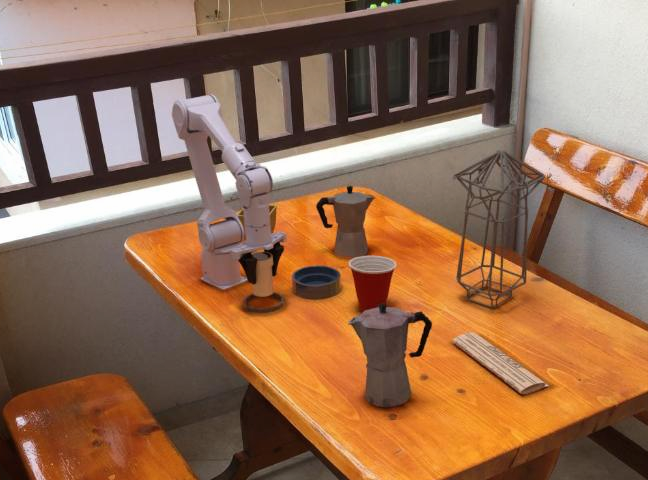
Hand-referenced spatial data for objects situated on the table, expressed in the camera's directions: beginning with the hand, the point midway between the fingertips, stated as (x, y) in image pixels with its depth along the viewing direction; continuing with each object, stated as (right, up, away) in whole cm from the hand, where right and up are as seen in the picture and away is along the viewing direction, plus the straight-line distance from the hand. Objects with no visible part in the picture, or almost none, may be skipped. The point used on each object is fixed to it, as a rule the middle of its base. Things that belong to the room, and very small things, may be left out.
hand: (261, 278), depth 198 cm
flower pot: (-5, +15, +37) cm, 40 cm away
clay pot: (0, -3, +2) cm, 3 cm away
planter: (+12, -2, +10) cm, 16 cm away
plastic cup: (+26, -7, +1) cm, 27 cm away
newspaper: (+51, -20, -21) cm, 59 cm away
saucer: (0, -6, +4) cm, 7 cm away
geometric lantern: (+53, -4, +5) cm, 54 cm away
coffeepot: (+19, +10, +29) cm, 37 cm away
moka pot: (+28, -27, -30) cm, 49 cm away
